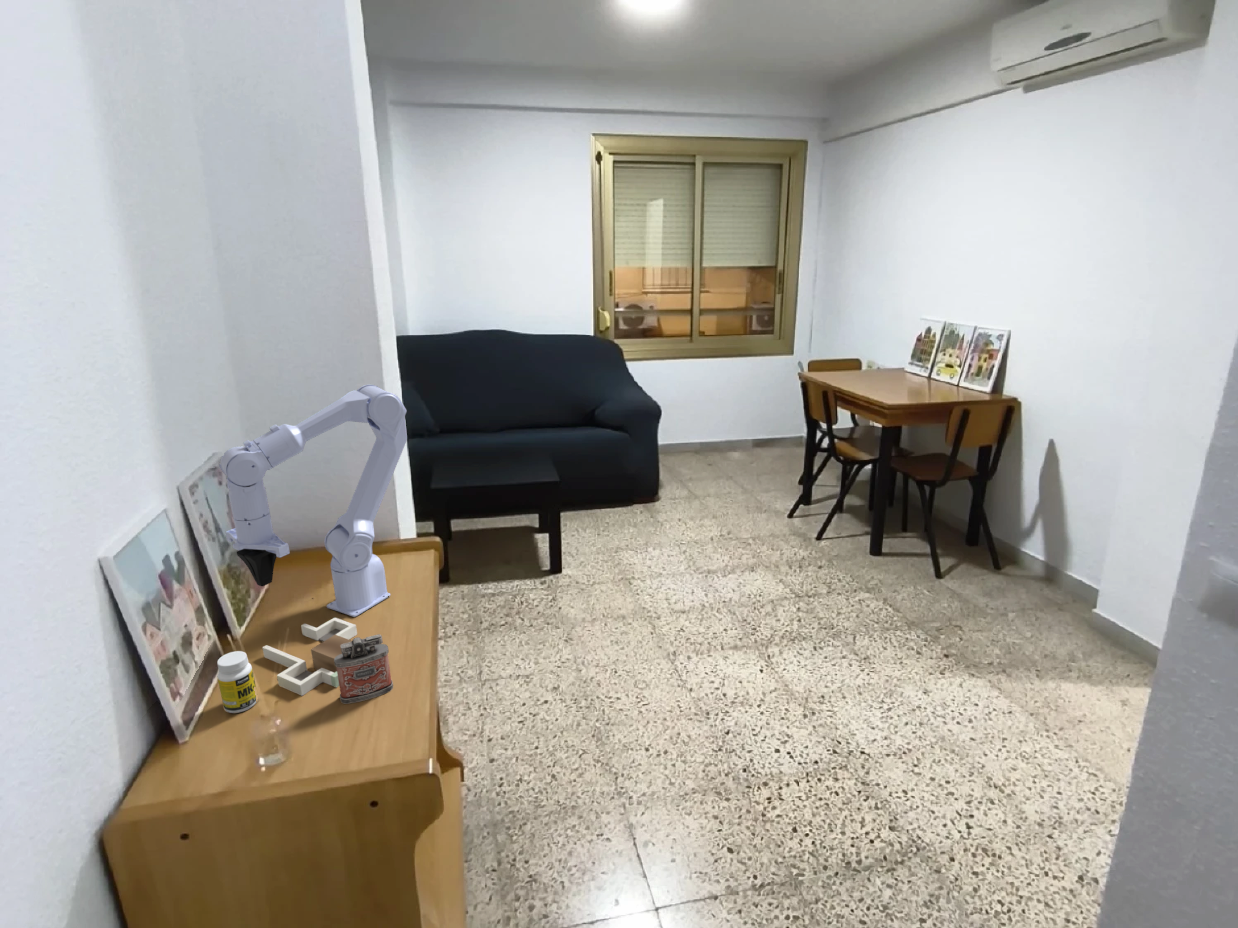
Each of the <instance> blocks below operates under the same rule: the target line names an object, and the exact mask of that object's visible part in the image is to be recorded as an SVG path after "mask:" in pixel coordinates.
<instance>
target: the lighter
mask: <svg viewBox="0 0 1238 928" xmlns="http://www.w3.org/2000/svg"><path fill="white" fill-rule="evenodd" d="M351 641H352V642H349V643H345V644H342V645H341V652H342V654H340V655H338V656H336V657H335V659H334V663H335V666H336V668H337V674H338V680H339V686H338V687H339V692H340V693H339V699H340V702H341V703H342V704H344V705H345V704H348V705H349V704H354V703H359V702H362V701H367V700H371V699H374V698H377V697H380V696H383V695H385V694H387V693H389V692H391V691H392V690H393V689H394V683H393V680H392V675H391V669H390V662H389V661H390V659H389V647H388V644H385V643H384V642H383V636H382V635H381V634H380V633H379V634H375V635H370V636H366V637H364V638H360V637H355V638H354V637H353V639H352V640H351Z"/></svg>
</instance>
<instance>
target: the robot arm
mask: <svg viewBox="0 0 1238 928" xmlns="http://www.w3.org/2000/svg"><path fill="white" fill-rule="evenodd" d="M406 414H407V408H406V407H405V405H404V404H403V402H402V400H401V398H400V397H399V396H398V395H396V394H395V393H393V392H390V391H387V390H384V389H383V388H381V387H380V386H378V385H375V384H371V383H370V384H364V385H362V386H360V387H359V388H357V389H354V390H351V391H348V392H347V393H346V394H344V395H343V396H342V397H340V398H338V399H336V400H335V401H333V402H332V403H330V404H329V405H327V406H325V407H324V408H321V409H320V410H319V411H317V412H316V413H314V414H312V415H310V416H309V417H307V418H305V419H304V420H302V421H300V422H298V423H297V424H296V425H293V424H292V425H291V424H287V423H281V425H278V424H276V423H275V424H273V425H271V426H269V430H270V431H269V430H268V431H267V432H266V433H264V434H262V435H260V436H258V437H256V438H254V439H253V440H249V439H246V440H245V441H243V443H242V444H243V445H244V446H242V445H241V446H238V445H237V446H233V447H231V448H229V449H227V450H225V452H224V453H223V455H222V456H221V457H220V458H221V459H220V462H219V464H218V466H219V469H220V470H221V472H222V473H223V474H224V475H225V476H226V477H227V478H226V486H227V489H228V492H227V494H228V498H229V499H228V500H229V503H230V508H231V513H232V519H233V523H234V528H231V529H229V530H227V531H225V537H226V541H227V542H228V543H232V542H234V543H232V549H233V550H237V552H236V556H237V557H239V559H241V561H242V562H243V563H244V564H245V565H246V567H247V568H248V570H249V572H250V573H251V576H252V577H253V580H254V582H255V583H256V585H257V586H260V587H265V586H267V585H269V584H271V583H273V576H274V568H275V564H276V560H277V558H283V557H285V556H287V555H289V554H290V547H289V543H287V542H285V541H283V540H282V538H281V537H279V536H278V535H277V534H276V533H275V532H274V528H273V521H272V516H271V511H270V506H269V500H268V499H269V498H268V495H267V494H268V493H267V490H266V489H267V488H266V486H265V484H264V478H265V475H266V473H267V472H268V471H271V470H272V469H274V468H275V467H277V466H279V465H281V464H283V463H285V462H287V461H288V460H289V459H292V458H293V457H295V456H297V455H299V454H301V453H302V452H303V451H304V449H305V445H306V443H307V442H309V441H310V440H312V439H314V438H316V437H319V436H320V435H323V434H324V433H326V432H328V431H330V430H332V429H334V428H336V427H338V426H340V425H342V424H344V423H347V422H353V423H361V424H362V423H364V424H369V427H370V429H371V430H372V432H373V434H374V436H375V441H374V444H373V446H372V448H371V450H370V454H369V456H368V457H367V461H366V462H365V465H364V468H363V470H362V472H361V475H360V476H359V477H360V478H359V480H358V482H357V485H356V488H355V490H354V492H353V495H352V497H351V500H350V502H349V505H348V507H347V510H346V512H345V513H343V514H341V516H339V517H338V518H337V520H336V522H335V524H334V525H333V526H332V528H331V529H329V530H328V532H327V533H326V534H325V536H324V547H325V550H327V552H328V553H329V554H331V556H332V557H331V560H330V570H331V571H330V572H331V577H332V584H333V585H332V586H333V590H334V596H335V597H334V598H335V600H333V601H331V602H330V603H328V604H327V605H326V608H327V609H331V610H333V611H336V612H338V613H342V614H345V615H347V616H350V617H354V618H355V617H358V616H359V615H361V614H362V613H364V612H366V611H367V610H370V608H371V609H372V607H374V606H376V605H378V604H379V603H381V602H382V601H384V600H386V599H388V598H389V597H391V593H390V592H388V589H387V588H388V587H387V580H386V579H387V578H386V572H385V567H384V566H385V565H384V563H383V561H382V560H381V558H380V557H378V555H376V554H374V553H373V542H374V540H375V529H374V521H375V519H376V516H377V514H378V512H379V509H380V506H381V504H382V501H383V499H384V497H385V494H386V492H387V490H388V487H389V485H390V482H391V480H392V477H393V475H394V472H395V470H396V468H397V466H398V463H399V460H400V457H401V455H402V453H403V450H404V448H405V446H406V444H407V440H408V435H407V433H408V432H407V426H406V425H407V423H406ZM388 596H389V597H388Z"/></svg>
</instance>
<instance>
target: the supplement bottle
mask: <svg viewBox="0 0 1238 928" xmlns="http://www.w3.org/2000/svg"><path fill="white" fill-rule="evenodd" d="M217 668H218V672H217V676H216V677H217V682H218V687H219V691H220V695H221V700H222V705H223V709H224V711H225V712H227V713H229V714H238V713H242V712H245V711H248V710H249V709H251V708H252V707H254V706H255V705H256V704H257V702H256V695H255V691H254V687H256V681H255V680H256V679H255V676H254V672H253V667H252V664H251V663H250V662H249V659H248V655H247V653H246V652H245V651H242V650H237V651H230V652H228V653H225V654H224V655H222V656H221V657H219V659H217ZM256 688H257V687H256Z"/></svg>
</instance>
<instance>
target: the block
mask: <svg viewBox="0 0 1238 928" xmlns="http://www.w3.org/2000/svg"><path fill="white" fill-rule="evenodd" d="M349 642H352V640H351V639H349V640H348V639H346V638H343V637H340V636H338V635H334V636H332V637H330V638H329V639H327V640H325V641H324V642H322V641H321V643H319V644H318V645H316V646H314V647H312V648H311V649H310V653H311V659H312V664H313V669H314V670H316V671H317V670H319V669H321V668H324V669H326V670H329V671H331V672H334V673H335V672H336V671H337V668H336V666H335V663H334V659H335V657H336V656H338V655H340V654H342V652H341V645H342V644H345V643H349Z"/></svg>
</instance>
